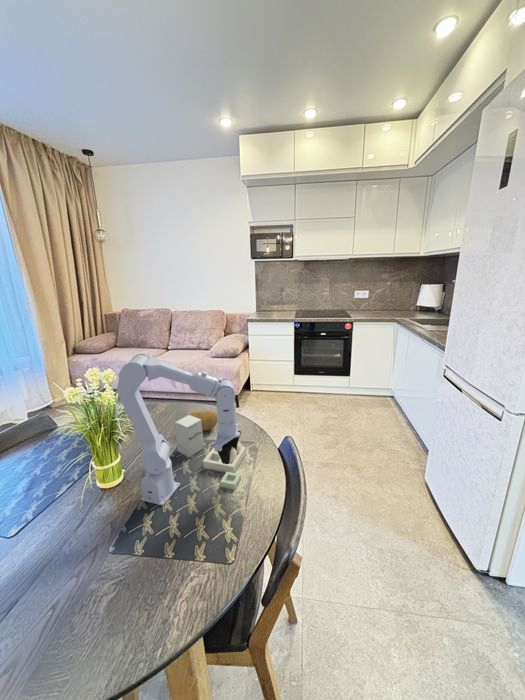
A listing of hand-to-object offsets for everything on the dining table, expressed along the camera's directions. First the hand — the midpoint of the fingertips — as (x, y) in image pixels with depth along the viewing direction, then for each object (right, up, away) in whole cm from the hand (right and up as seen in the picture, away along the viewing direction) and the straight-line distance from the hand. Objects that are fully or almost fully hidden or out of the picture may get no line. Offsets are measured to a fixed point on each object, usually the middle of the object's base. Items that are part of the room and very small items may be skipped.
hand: (229, 458), depth 94 cm
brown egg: (0, -1, +14) cm, 14 cm away
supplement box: (-17, -5, +21) cm, 28 cm away
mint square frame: (0, -9, +2) cm, 9 cm away
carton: (-3, -6, +14) cm, 15 cm away
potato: (-16, -1, +36) cm, 39 cm away
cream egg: (0, +1, 0) cm, 2 cm away
